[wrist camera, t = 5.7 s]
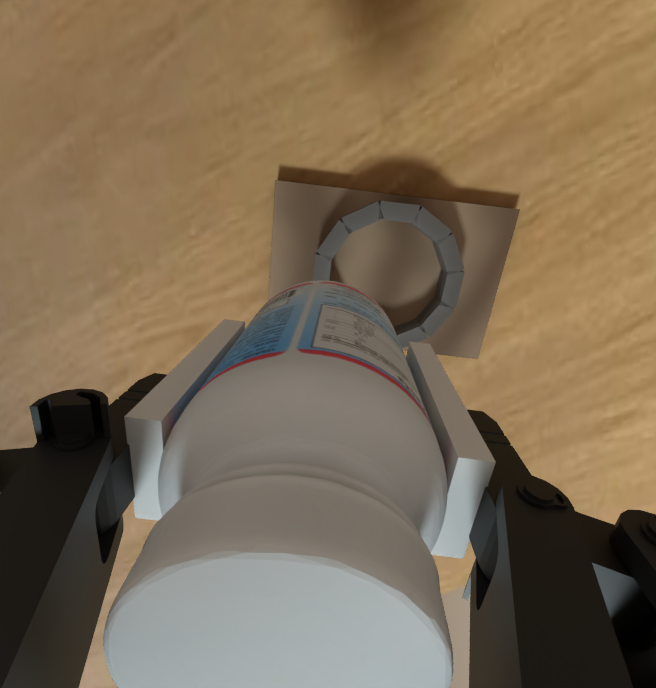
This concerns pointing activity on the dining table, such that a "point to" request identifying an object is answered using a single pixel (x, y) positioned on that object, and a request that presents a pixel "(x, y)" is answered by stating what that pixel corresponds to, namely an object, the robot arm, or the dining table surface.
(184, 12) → the dining table surface
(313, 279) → the holder
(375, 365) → the pill bottle
